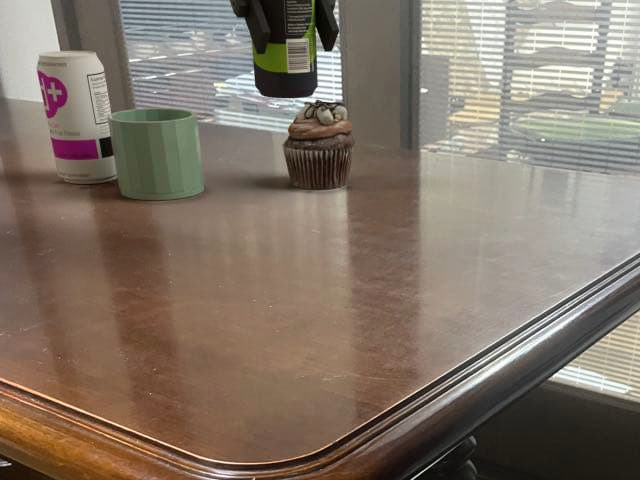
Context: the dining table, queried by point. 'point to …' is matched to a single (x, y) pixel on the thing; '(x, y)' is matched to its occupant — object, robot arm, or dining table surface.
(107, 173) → the supplement can
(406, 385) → the dining table surface
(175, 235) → the dining table surface
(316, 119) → the cupcake
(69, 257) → the dining table surface
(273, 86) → the beverage can
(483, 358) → the dining table surface
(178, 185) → the green faceted cup
